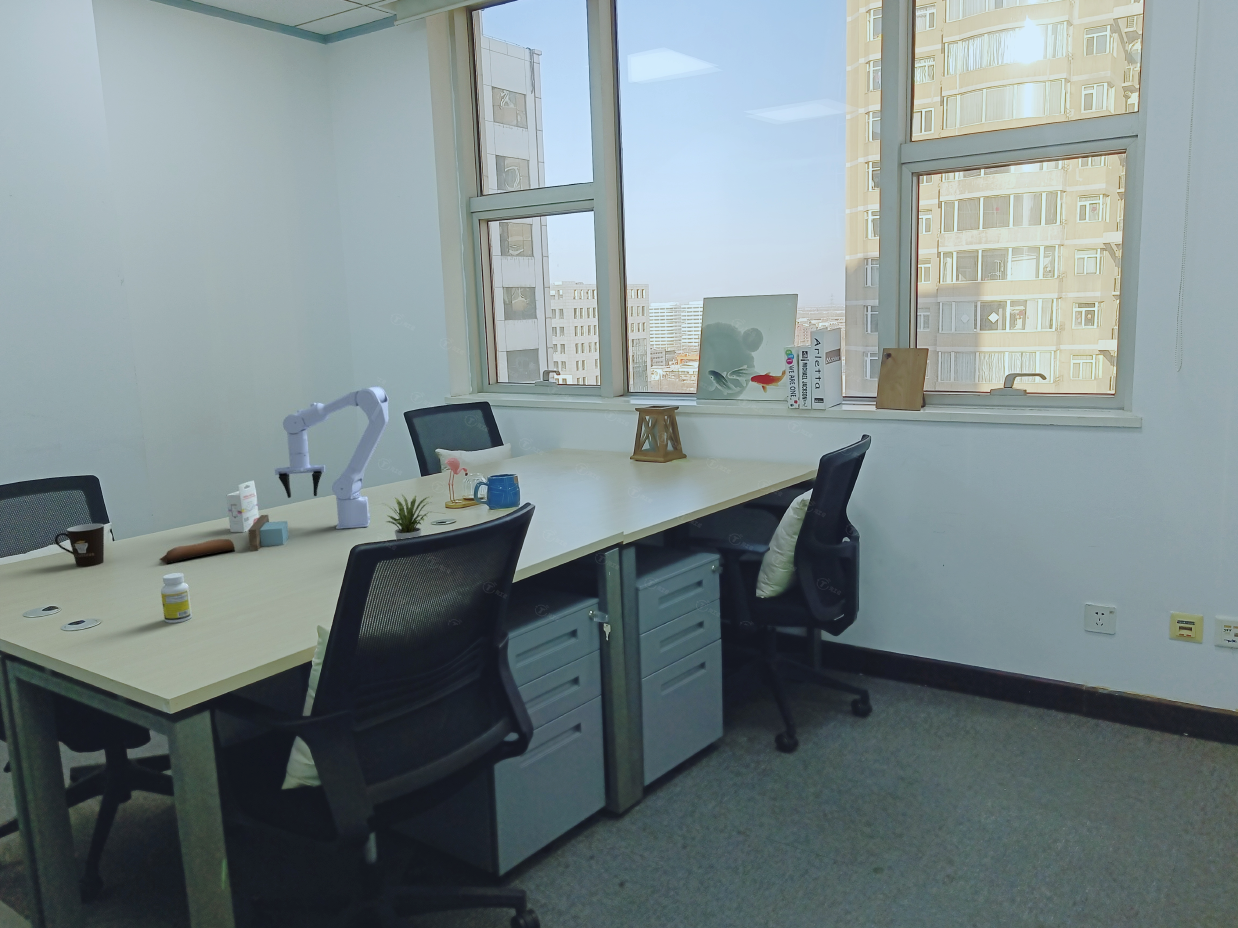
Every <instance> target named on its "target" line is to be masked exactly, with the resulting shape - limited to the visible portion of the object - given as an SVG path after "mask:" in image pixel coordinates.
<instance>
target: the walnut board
mask: <svg viewBox="0 0 1238 928" xmlns="http://www.w3.org/2000/svg"><path fill="white" fill-rule="evenodd" d="M266 522H270V517H269V514H261V515H260V516H259V518H258V519H257V521H256V522H255V523H254V524H253V525H252V526H251V528H250V529H249V530H248V531H247V532H248V541H249V551H250V552H255V551H259V550H260V549H261V547H262V546H261V538H260V529H261V528H262V527H263V525H264V524H265V523H266Z"/></svg>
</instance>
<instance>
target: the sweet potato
mask: <svg viewBox="0 0 1238 928" xmlns="http://www.w3.org/2000/svg"><path fill="white" fill-rule="evenodd" d="M231 550H232V551H231ZM228 551H229V552H230V551H231V552H234V553H235V544H234V542H233V540H231V539H228V538H215V539H211V540H206V541H202V542H200V543H195V544H189V545H188V544H186V545H179V546H175V547H173V548H171V549H169V550H167V552H166V554H164V556H162V557H160V558H159V561H161V562H163V563H164V564H166V565H168V564H171V563H175V562H176V563H177V562H180V561H183V560H187V559H190V558H194V557H201V556H206V555H210V554H217V553H223V552H228Z"/></svg>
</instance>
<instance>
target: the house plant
mask: <svg viewBox="0 0 1238 928" xmlns="http://www.w3.org/2000/svg"><path fill="white" fill-rule="evenodd" d="M400 495H401V496H402V498H403V501H404V504H403V503H402V502H401V501H400V500H399V498H397V497H394V499H395V502H396V505H397V507H398V510H397V508H395V507H394V506H392V507H393V508H392V507H390V506H389V505H388V504H385V503H383V502H382V504H383V505H385V506H387V507H388V508H389V509H390V510H392V511H393V513H394V514H395V515H396V516H397V517H398V518H396V517H394V516H392V515H386V516H387V517H388V518H390V519H391V520H392V521H391V520H386V521H385V523H388V524H393V525H394V526H396V527H397V528H398V529H395V530H394V535H395V539H396V540H397V539H401V538H409V537H417V536H421V537H422V528H420V527H418V525H422V522H423V523H424V521H425V518H424V517H427V515H428V514H429V513H431V511H428V512H427V513H424V514H420V513H421V511H422V510H423V509H424V507H425V506H426V505H428V504H431V503H432V502H433V501H432V502H431V501H429V502H425V501H426V500H427V499H430V498H432V497H433V495H431V496H426V497H424V498H422V499H421V501H419V502H418V504H417V505H416V502H417V499H416V498H417V495H414V496H413V497H412V500H411V501H410V504H409V502H408V500H407V498H406V496H405V495H403V494H402V493H400ZM424 503H425V504H424ZM422 504H423V505H422ZM421 505H422V506H421ZM415 506H416V507H415ZM420 506H421V507H420ZM419 508H420V509H419ZM417 511H418V513H417ZM416 513H417V515H416ZM415 515H416V516H415ZM419 517H420V519H418V518H419ZM421 521H422V522H421Z"/></svg>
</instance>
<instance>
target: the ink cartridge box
mask: <svg viewBox="0 0 1238 928" xmlns="http://www.w3.org/2000/svg"><path fill="white" fill-rule="evenodd" d="M248 486H249V487H248ZM245 487H247V488H245ZM237 488H238V491H234V492H231V493H229V494H226V497H225V498H226V504H227V511H228V521H229V522H228V523H229V530H230V533H246V532H248V531H247V530H249V529H250V528H251V526H252V525H253V524H254V523H255V522H256V521H257V519H258V518H259V517H260V516H259V507H258V497H257V489H256V484H255V480H249V481H247V482H243V483H241V484H238V486H237ZM245 531H246V532H245Z"/></svg>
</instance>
